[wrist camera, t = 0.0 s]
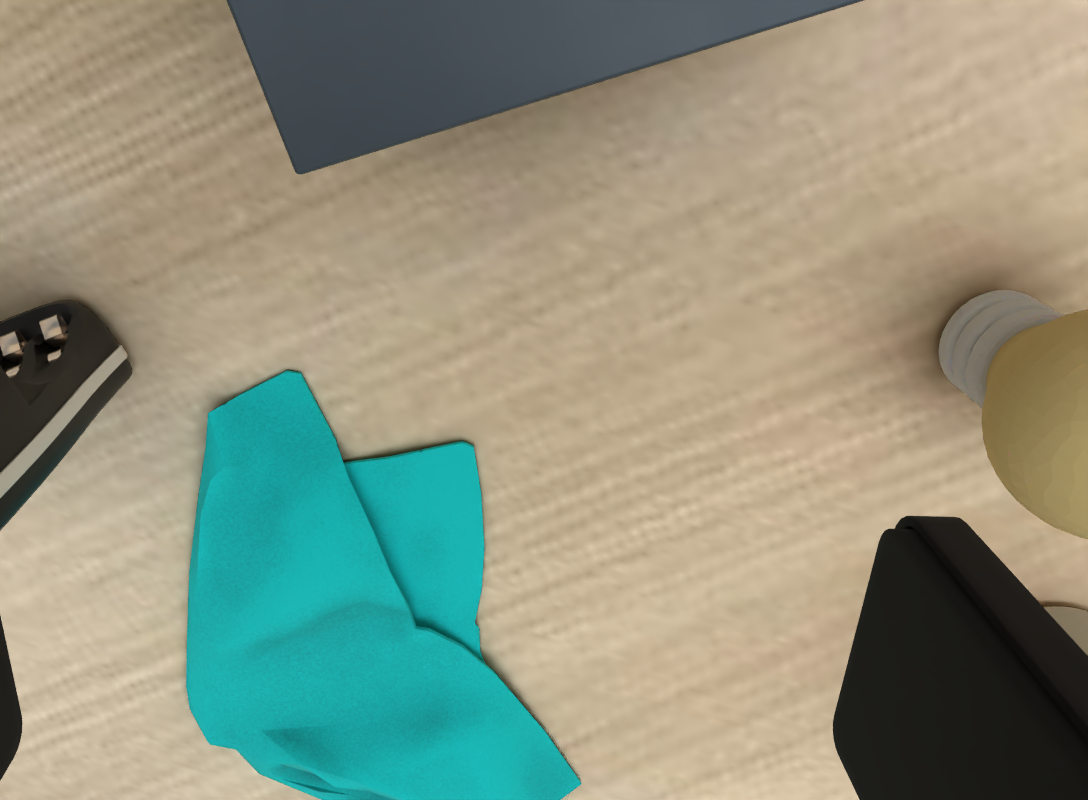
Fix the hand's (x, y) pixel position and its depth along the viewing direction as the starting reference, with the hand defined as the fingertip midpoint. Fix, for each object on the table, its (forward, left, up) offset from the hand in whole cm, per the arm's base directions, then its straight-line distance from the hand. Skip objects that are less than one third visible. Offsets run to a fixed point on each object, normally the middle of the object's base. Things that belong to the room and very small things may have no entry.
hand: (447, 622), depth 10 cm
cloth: (+19, -3, -21) cm, 28 cm away
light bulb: (+4, +18, -21) cm, 28 cm away
